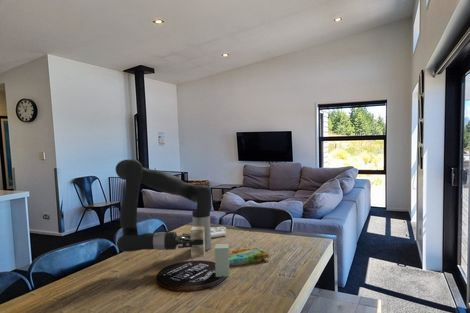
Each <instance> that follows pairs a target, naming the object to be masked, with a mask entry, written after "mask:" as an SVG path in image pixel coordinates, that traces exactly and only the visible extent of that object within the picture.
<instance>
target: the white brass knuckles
mask: <svg viewBox="0 0 470 313" xmlns="http://www.w3.org/2000/svg"><path fill="white" fill-rule="evenodd" d="M210 228H211V239H215V238H220V237H225V236H226V235H227V227H225V226H217V227H216V226H213V227H211V226H210Z"/></svg>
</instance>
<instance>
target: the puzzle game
mask: <svg viewBox="0 0 470 313" xmlns="http://www.w3.org/2000/svg"><path fill="white" fill-rule="evenodd" d="M268 258H269V254H268V253H267V252H266V251H264V250H263V249H261V247H258V246H257V247H250V248H243V249H233V250H229V267H232V266H233V267H234V266H238V265H239V266H242V265H247V264H253V263H261V262H262V260H263V259H268Z"/></svg>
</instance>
